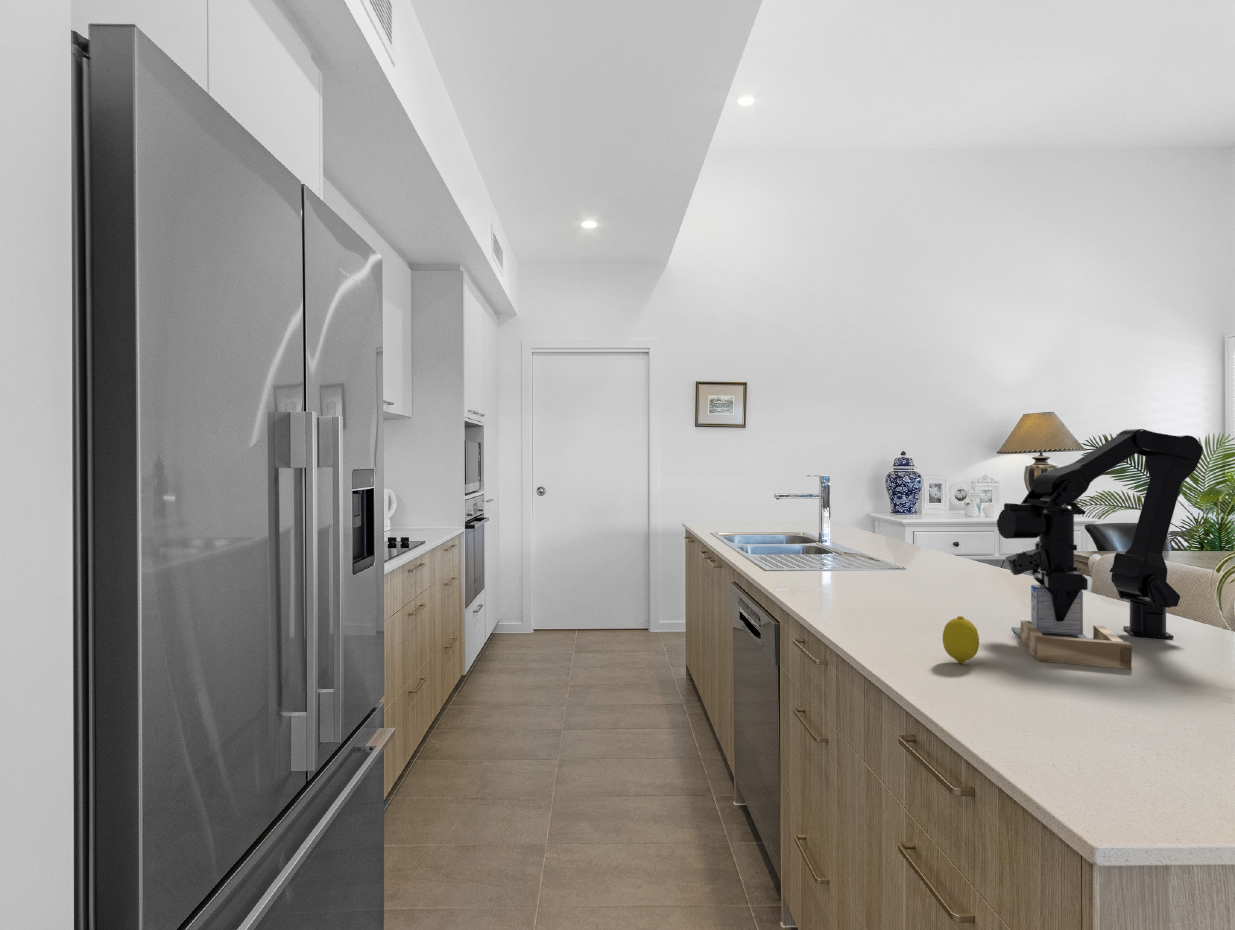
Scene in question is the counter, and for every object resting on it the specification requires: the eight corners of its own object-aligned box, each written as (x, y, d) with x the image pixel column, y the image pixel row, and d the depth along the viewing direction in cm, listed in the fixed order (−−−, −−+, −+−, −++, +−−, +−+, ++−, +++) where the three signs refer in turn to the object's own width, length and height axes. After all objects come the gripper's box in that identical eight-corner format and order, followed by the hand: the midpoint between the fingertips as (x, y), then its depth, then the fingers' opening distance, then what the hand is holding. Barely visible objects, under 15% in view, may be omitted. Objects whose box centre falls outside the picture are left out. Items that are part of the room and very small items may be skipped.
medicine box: (1077, 630, 135) (1076, 586, 135) (1083, 636, 131) (1083, 590, 131) (1030, 627, 137) (1030, 584, 137) (1035, 632, 133) (1035, 587, 133)
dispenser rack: (1020, 638, 133) (1020, 617, 133) (1103, 644, 128) (1103, 623, 128) (1037, 660, 118) (1037, 637, 118) (1131, 668, 113) (1131, 644, 113)
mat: (1011, 628, 140) (1011, 627, 140) (1081, 633, 136) (1081, 632, 136) (1018, 638, 133) (1018, 636, 133) (1092, 643, 129) (1092, 642, 129)
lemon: (983, 669, 113) (983, 620, 113) (947, 667, 115) (947, 619, 114) (973, 659, 119) (973, 613, 119) (938, 658, 120) (938, 611, 120)
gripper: (1001, 531, 146) (1001, 606, 146) (1017, 542, 128) (1017, 626, 128) (1063, 533, 142) (1063, 609, 142) (1088, 544, 124) (1088, 631, 124)
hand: (1056, 618), depth 134 cm, fingers closed on medicine box, 4 cm apart
